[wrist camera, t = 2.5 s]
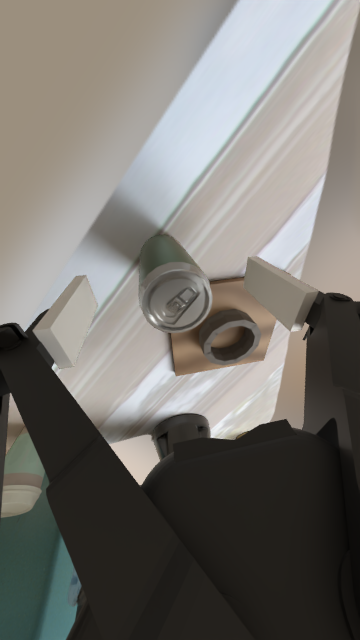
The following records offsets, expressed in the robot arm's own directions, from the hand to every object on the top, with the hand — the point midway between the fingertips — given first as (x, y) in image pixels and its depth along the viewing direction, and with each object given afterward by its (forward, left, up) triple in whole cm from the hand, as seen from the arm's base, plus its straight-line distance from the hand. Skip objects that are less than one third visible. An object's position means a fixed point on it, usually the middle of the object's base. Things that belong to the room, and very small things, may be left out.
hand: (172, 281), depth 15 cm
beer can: (0, 0, -9) cm, 9 cm away
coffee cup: (-33, +30, -9) cm, 46 cm away
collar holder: (-13, -9, -9) cm, 18 cm away
